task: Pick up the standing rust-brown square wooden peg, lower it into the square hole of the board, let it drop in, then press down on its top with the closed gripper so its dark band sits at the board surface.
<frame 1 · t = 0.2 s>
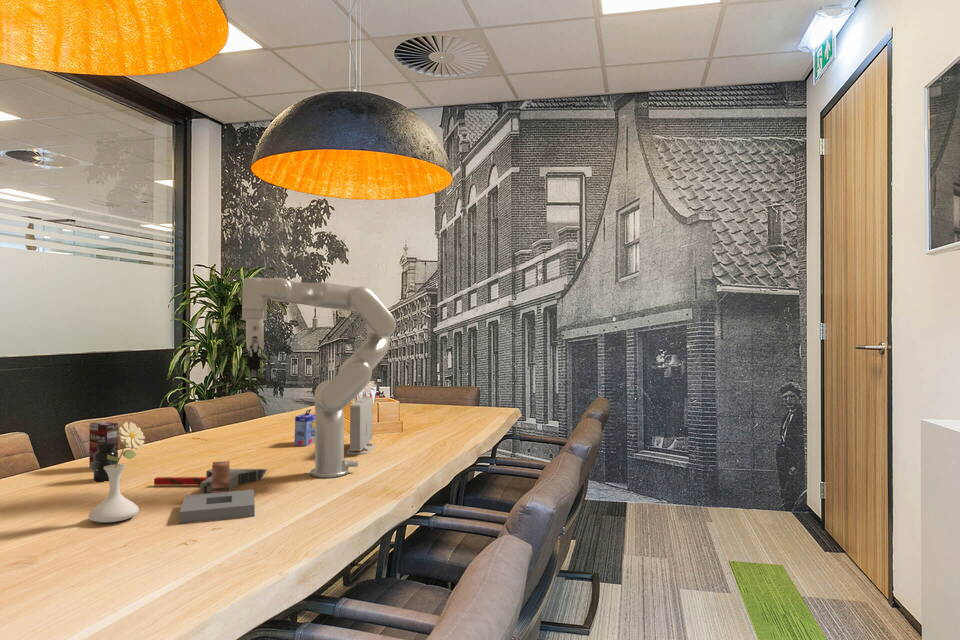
hand: (253, 368, 202), 36 cm above the table, tool pointing down, fingers open, 9 cm apart
flower in vase: (117, 519, 162), on the table
supplement bottle: (105, 480, 201), on the table
peg: (220, 497, 182), on the table
network device: (361, 450, 250), on the table
board: (218, 510, 169), on the table
supplement box: (103, 468, 217), on the table
grey and red axe: (207, 485, 197), on the table
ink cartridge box: (305, 444, 261), on the table
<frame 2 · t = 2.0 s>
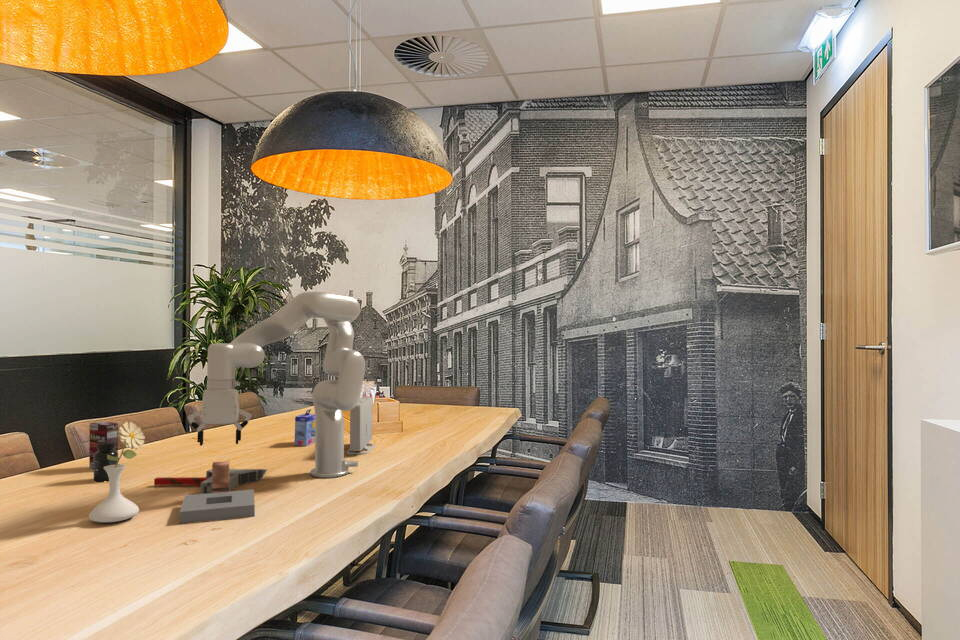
hand: (219, 444, 182), 16 cm above the table, tool pointing down, fingers open, 9 cm apart
nothing on the table moved.
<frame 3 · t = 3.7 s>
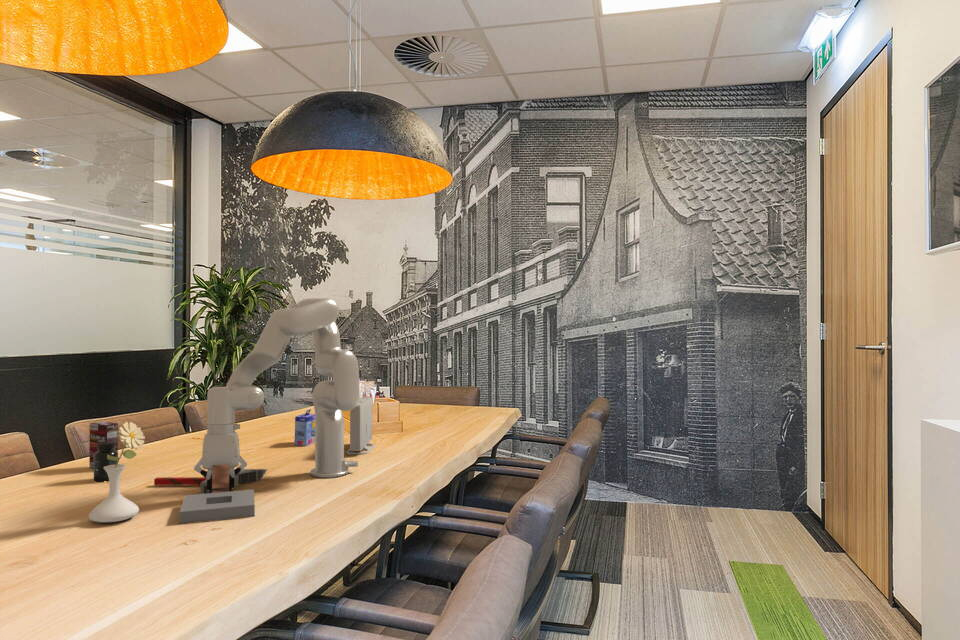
hand: (220, 490, 182), 2 cm above the table, tool pointing down, fingers closed on peg, 4 cm apart
peg: (220, 497, 182), on the table, touching gripper
everything else where it was.
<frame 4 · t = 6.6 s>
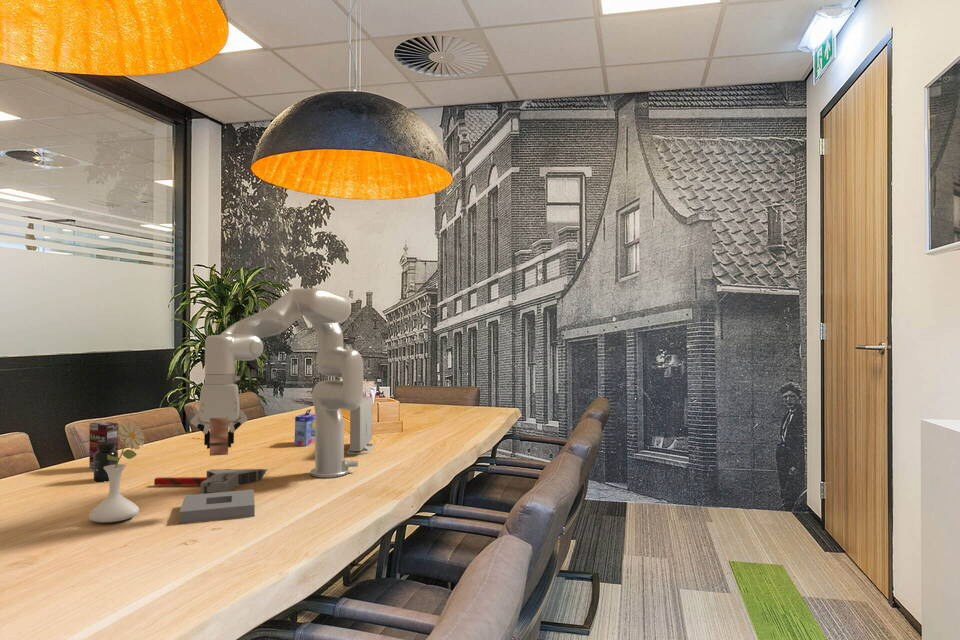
hand: (219, 446, 169), 18 cm above the table, tool pointing down, fingers closed on peg, 4 cm apart
peg: (219, 453, 169), point 16 cm above the table, touching gripper
everything else where it was.
when the fingers open (4 cm above the table, at t = 9.6 s): peg drops 2 cm, resting in board.
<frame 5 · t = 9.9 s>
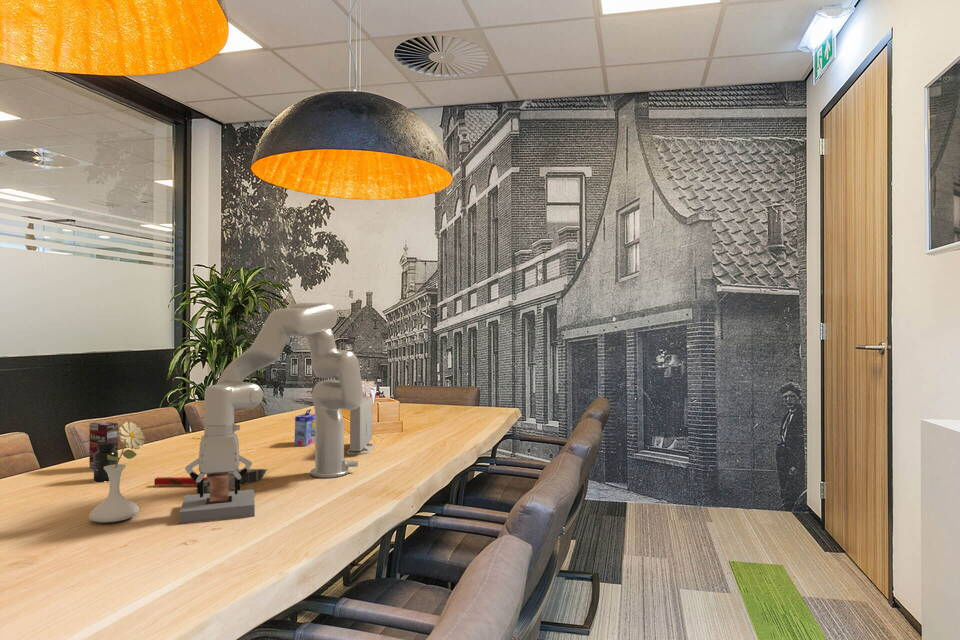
hand: (219, 494, 169), 5 cm above the table, tool pointing down, fingers open, 8 cm apart
peg: (219, 511, 169), resting in board
everything else where it was.
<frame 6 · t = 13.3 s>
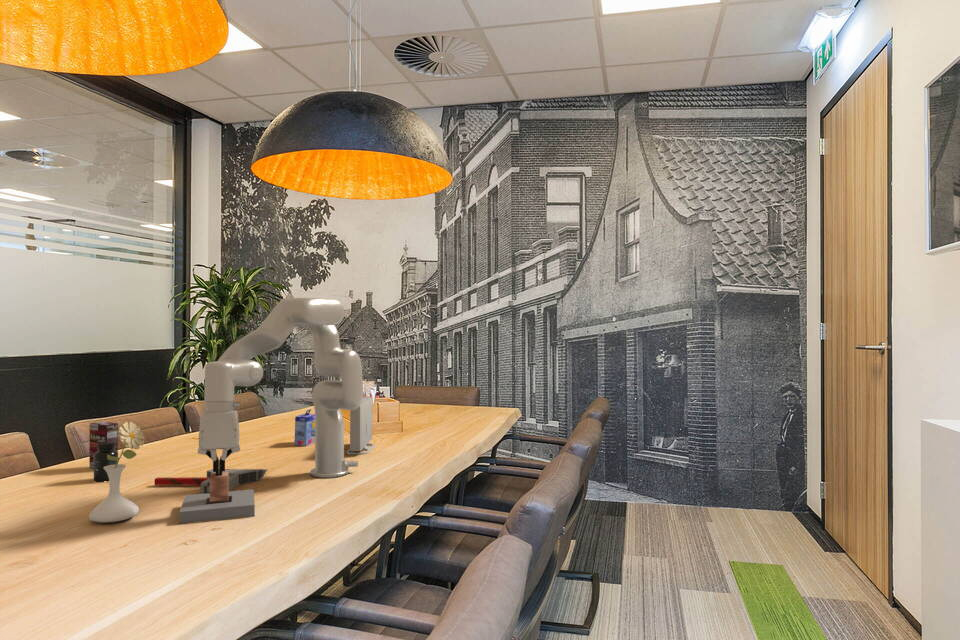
hand: (219, 474, 169), 10 cm above the table, tool pointing down, fingers closed
peg: (219, 510, 169), resting in board, touching gripper
everything else where it was.
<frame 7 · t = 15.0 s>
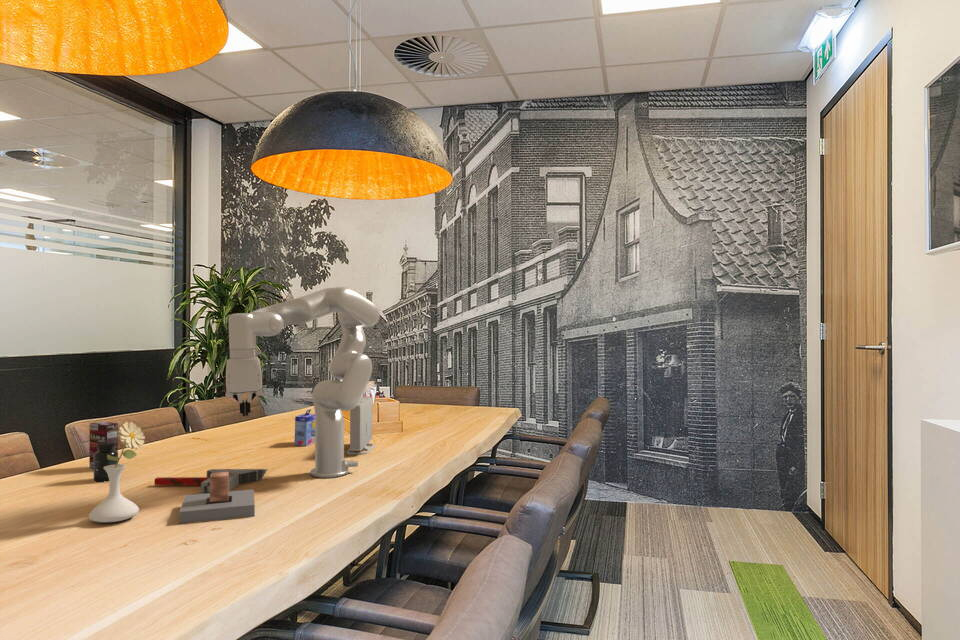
hand: (245, 415, 186), 23 cm above the table, tool pointing down, fingers closed
peg: (219, 511, 169), resting in board
everything else where it was.
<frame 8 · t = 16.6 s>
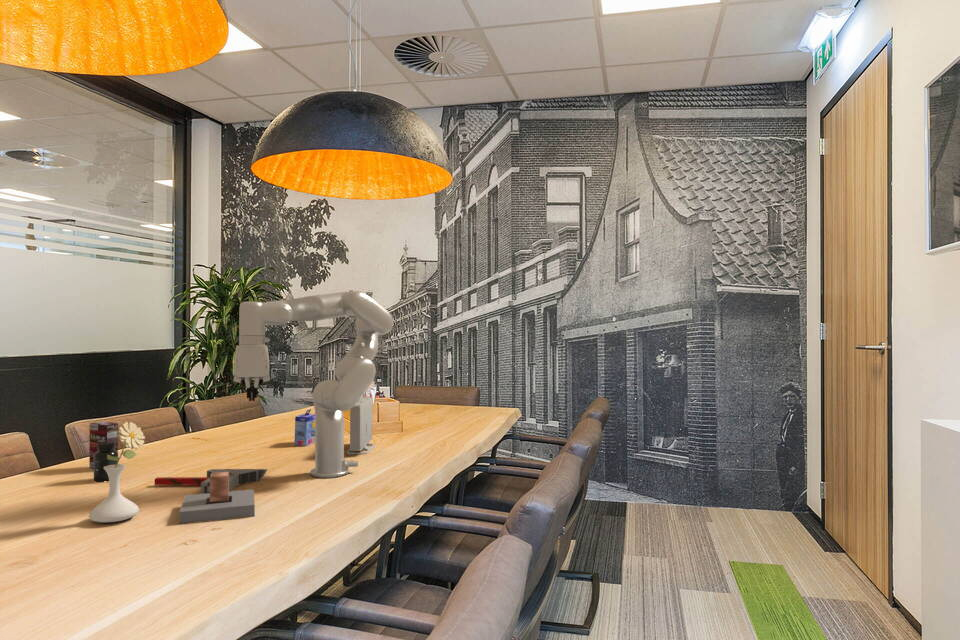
hand: (251, 400, 193), 27 cm above the table, tool pointing down, fingers closed
nothing on the table moved.
at the end: peg 0.1 cm off-centre on the board, point 0.0 cm above the board's base; peg tilted 0°; the gripper is holding nothing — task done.
